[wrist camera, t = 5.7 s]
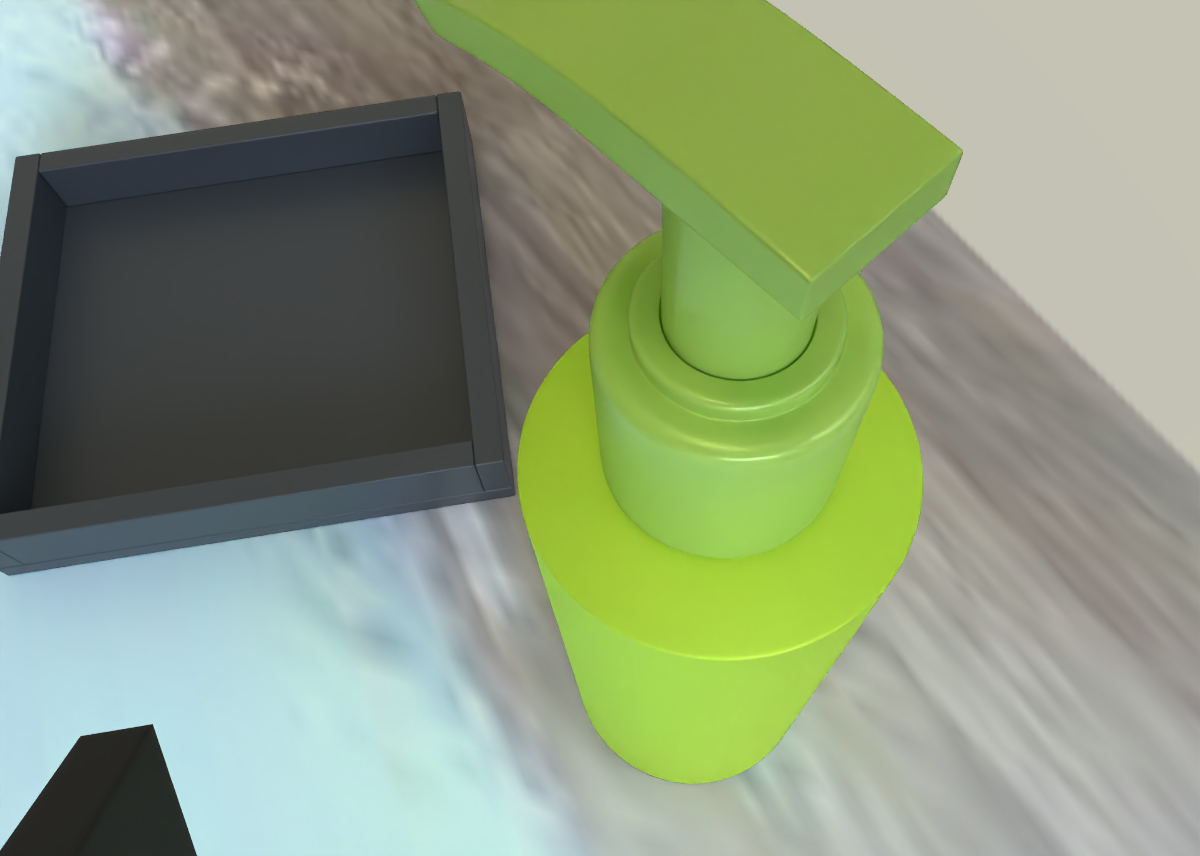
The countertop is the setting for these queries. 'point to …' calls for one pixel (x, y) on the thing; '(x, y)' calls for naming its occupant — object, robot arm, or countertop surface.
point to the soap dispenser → (718, 367)
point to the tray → (245, 334)
